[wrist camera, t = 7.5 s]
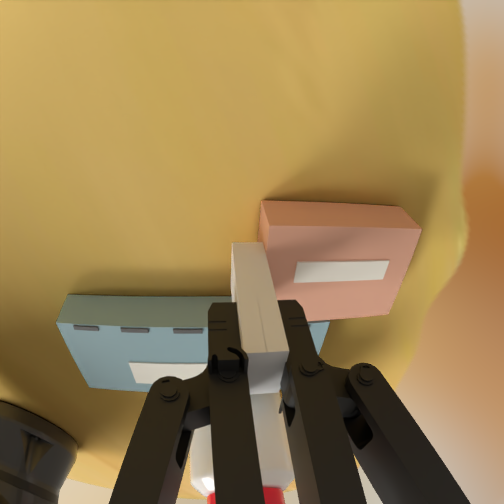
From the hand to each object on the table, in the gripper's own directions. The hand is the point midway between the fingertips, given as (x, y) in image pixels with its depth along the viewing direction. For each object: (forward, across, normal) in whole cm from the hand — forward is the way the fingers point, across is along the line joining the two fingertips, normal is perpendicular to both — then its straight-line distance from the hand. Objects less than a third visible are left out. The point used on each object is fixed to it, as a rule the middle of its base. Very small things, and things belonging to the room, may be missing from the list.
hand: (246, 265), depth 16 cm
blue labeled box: (+2, -3, -7) cm, 8 cm away
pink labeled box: (+2, +5, 0) cm, 5 cm away
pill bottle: (+2, 0, -15) cm, 15 cm away
